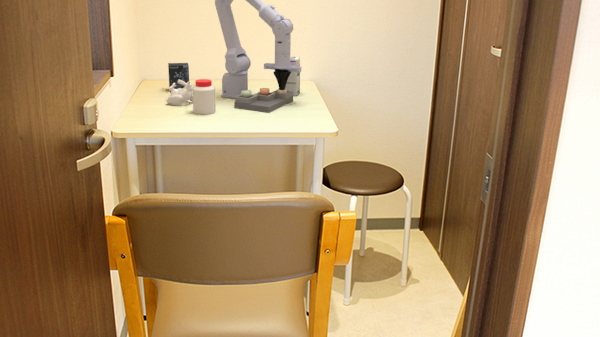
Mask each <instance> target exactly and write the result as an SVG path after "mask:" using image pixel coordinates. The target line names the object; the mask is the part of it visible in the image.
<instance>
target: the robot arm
mask: <svg viewBox="0 0 600 337" xmlns="http://www.w3.org/2000/svg"><path fill="white" fill-rule="evenodd" d="M233 1H234V0H214V6H215V8H216V9H215V10H216V13H217V17H218V20H219V24H220V28H221V31H222V35H223V39H224V43H225V47H226V52H225V55H224V59H225V64H224V67H225V70H226V72H225V73H224V74H223V75H222V79H221V88H222V90H221V93H222V95H220V96H221V97H222V98H228V99H229V98H231V99H235V97H236V96H238V95H241V91H243V90H248V87H249V85H248V83H249V82H248V81H249V79H248V77H249V76H248V72H249V69H250V68H251V63H252V62H251V60H250V57H249V56H248V55H247V51H246V50H245V49H244V47H242V44H241V41H240V37H239V33H238V30H237V25H236V21H235V17H234V14H233V10H232V6H231V4H232V3H233ZM245 1H246V2H247V3H248V4H250V6H252V7H253V8H254V9H255V10H257V11H258V17H259V18H260V19H261V20H262V21H263V22H264V23H266V25H267V26H269V27H270V28H271V30H272V34H273V35H274V62H273V63H271V62H270V63H269V62H266V63H263V69H264V70H274V71H273V75H274V77H275V79H276V81H277V85H278V89H279V90H285V87H286V83H287V80H288V78H289V76H290V74H291V71H292V72H297V73H300V74H301V72H302V66H301V65H300V66H294V65H290V56H291V45H292V44H291V42H292V41H291V34H292V32H293V31H294V23H292V21H291V19H290V18H287V17H286V18H285V16H284V15H283V14H280V13H279V11H277V10H276V9H275V8H276V6H275V5H272V4H267V3H264V2H263V1H262V0H245ZM251 95H253V94H252V93H251Z"/></svg>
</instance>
